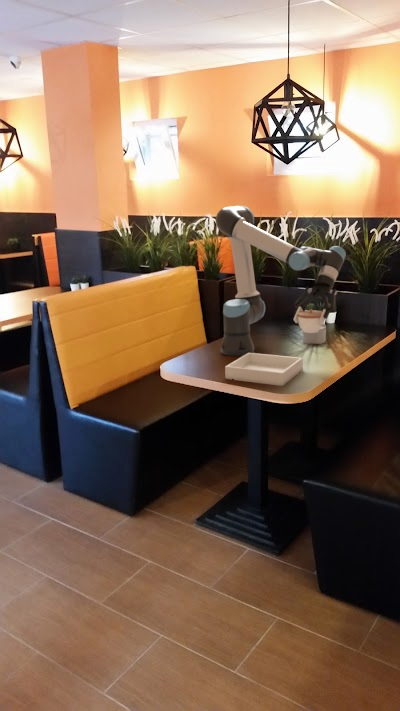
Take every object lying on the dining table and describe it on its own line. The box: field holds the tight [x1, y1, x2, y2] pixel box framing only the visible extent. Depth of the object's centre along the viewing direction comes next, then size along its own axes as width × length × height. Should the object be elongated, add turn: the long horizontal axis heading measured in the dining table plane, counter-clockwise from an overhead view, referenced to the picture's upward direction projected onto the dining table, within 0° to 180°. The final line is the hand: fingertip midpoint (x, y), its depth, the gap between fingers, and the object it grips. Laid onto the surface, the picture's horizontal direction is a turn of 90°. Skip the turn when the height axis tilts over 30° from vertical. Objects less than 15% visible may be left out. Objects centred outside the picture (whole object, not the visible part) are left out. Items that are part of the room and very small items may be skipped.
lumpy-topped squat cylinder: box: [302, 322, 327, 345], centre depth 284 cm, size 10×13×9 cm
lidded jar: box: [297, 308, 323, 333], centre depth 243 cm, size 11×11×9 cm
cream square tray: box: [224, 352, 304, 387], centre depth 236 cm, size 24×22×5 cm
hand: (307, 322), depth 241 cm, fingers closed on lidded jar, 11 cm apart
